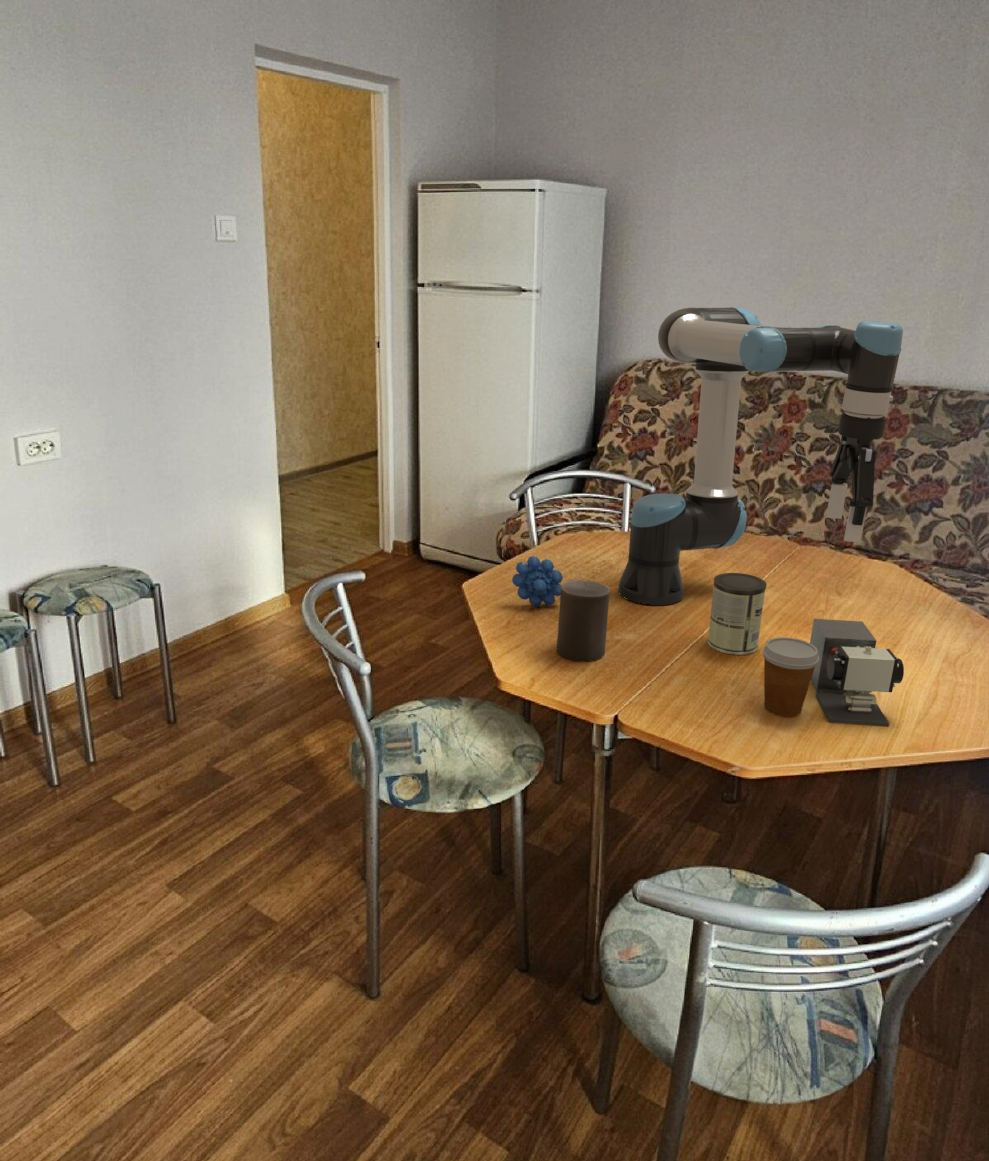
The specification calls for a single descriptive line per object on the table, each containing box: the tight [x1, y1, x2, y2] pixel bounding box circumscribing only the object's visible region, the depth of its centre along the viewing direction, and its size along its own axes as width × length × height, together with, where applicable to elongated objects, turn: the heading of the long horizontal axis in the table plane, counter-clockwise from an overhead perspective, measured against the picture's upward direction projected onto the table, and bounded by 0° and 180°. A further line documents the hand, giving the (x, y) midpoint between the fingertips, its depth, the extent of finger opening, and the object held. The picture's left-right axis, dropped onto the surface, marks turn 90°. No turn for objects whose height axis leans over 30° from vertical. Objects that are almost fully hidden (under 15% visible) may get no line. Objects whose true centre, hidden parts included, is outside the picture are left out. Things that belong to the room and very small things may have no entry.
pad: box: [815, 692, 890, 727], centre depth 161 cm, size 10×10×1 cm
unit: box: [809, 618, 877, 694], centre depth 169 cm, size 9×10×11 cm
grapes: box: [511, 555, 564, 607], centre depth 201 cm, size 12×7×12 cm, turn 96°
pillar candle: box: [556, 579, 611, 662], centre depth 179 cm, size 10×10×15 cm
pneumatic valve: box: [827, 646, 905, 713], centre depth 158 cm, size 6×12×12 cm, turn 86°
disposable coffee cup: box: [762, 636, 820, 718], centre depth 159 cm, size 10×10×12 cm
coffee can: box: [706, 572, 767, 656], centre depth 184 cm, size 10×10×14 cm
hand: (842, 529), depth 166 cm, fingers open, 13 cm apart
